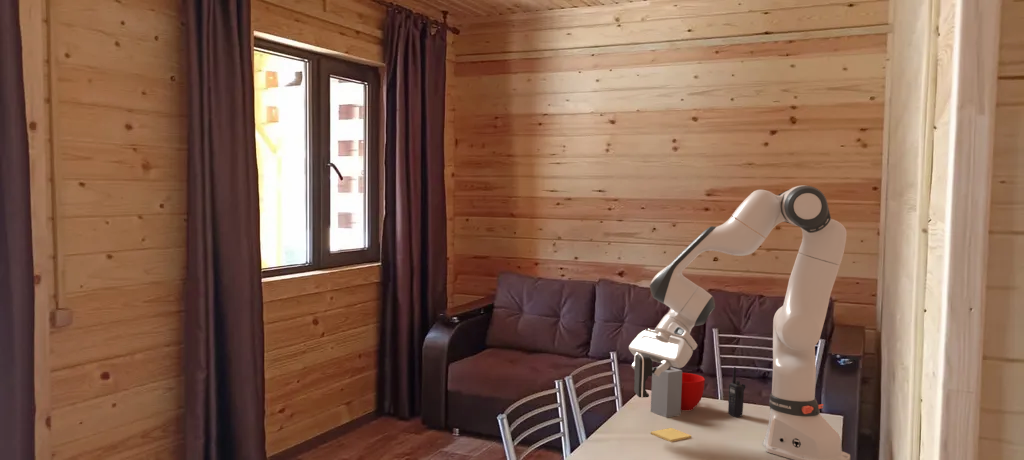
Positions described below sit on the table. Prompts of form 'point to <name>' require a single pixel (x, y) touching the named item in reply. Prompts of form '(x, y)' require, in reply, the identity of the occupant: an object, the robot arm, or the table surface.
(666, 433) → the bay mat
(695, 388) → the ceramic cup
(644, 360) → the battery charger
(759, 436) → the table surface
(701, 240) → the robot arm
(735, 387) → the two-way radio
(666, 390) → the gray rectangular box
